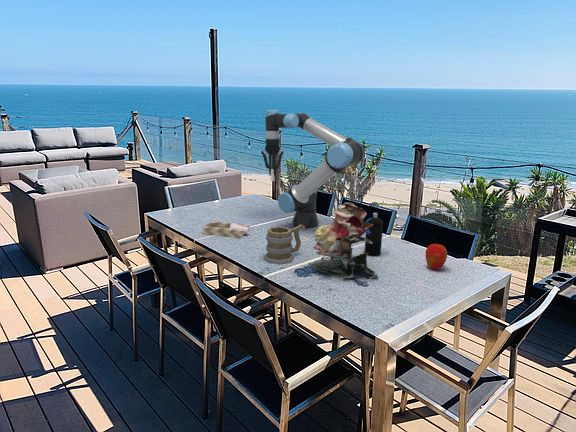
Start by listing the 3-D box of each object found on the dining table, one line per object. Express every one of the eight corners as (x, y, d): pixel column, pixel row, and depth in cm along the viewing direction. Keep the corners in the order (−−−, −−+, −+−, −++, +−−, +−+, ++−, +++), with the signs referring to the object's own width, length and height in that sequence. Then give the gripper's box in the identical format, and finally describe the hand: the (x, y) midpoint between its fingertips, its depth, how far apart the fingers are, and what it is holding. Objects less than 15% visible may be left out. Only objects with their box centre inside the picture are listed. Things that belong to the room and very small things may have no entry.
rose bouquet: (352, 255, 208) (356, 193, 200) (385, 279, 181) (390, 208, 173) (302, 260, 199) (303, 196, 192) (328, 286, 173) (331, 213, 165)
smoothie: (249, 237, 236) (224, 233, 239) (250, 225, 237) (226, 222, 239) (246, 236, 230) (220, 232, 232) (247, 224, 231) (222, 220, 233)
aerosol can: (382, 251, 213) (385, 212, 207) (380, 257, 205) (383, 216, 200) (365, 249, 215) (368, 210, 210) (362, 255, 208) (365, 214, 203)
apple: (442, 274, 187) (445, 247, 184) (421, 269, 191) (424, 243, 188) (447, 267, 194) (450, 241, 191) (427, 263, 199) (429, 238, 196)
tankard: (272, 265, 193) (273, 233, 189) (261, 256, 204) (261, 225, 200) (311, 258, 202) (312, 227, 198) (298, 250, 213) (299, 220, 209)
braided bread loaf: (249, 231, 240) (249, 224, 239) (241, 238, 229) (241, 231, 228) (212, 228, 246) (212, 221, 245) (203, 234, 235) (202, 227, 234)
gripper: (259, 138, 239) (259, 181, 245) (282, 139, 237) (282, 182, 243) (262, 137, 246) (263, 179, 252) (285, 138, 244) (285, 180, 250)
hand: (272, 180), depth 247 cm, fingers closed
